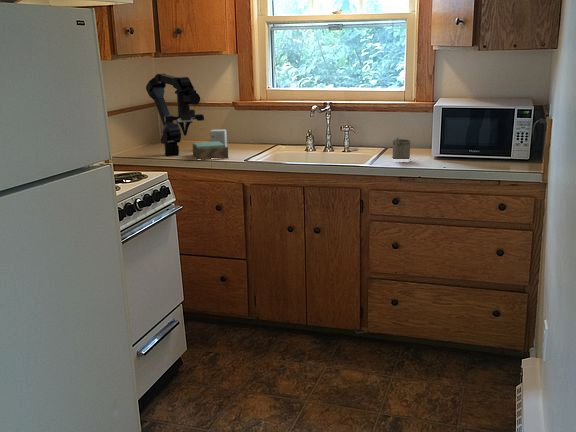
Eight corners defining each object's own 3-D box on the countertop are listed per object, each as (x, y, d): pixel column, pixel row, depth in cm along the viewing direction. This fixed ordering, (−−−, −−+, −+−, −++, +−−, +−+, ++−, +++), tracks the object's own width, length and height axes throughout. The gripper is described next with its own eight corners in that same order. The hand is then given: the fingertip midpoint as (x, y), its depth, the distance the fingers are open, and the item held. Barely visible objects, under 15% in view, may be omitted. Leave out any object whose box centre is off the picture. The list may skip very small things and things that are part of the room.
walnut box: (198, 160, 305) (197, 149, 304) (193, 155, 320) (192, 144, 318) (228, 158, 309) (227, 147, 308) (222, 153, 324) (221, 142, 323)
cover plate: (198, 149, 305) (197, 146, 305) (194, 145, 317) (193, 142, 317) (224, 148, 309) (224, 145, 309) (219, 144, 321) (219, 141, 321)
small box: (227, 148, 337) (226, 129, 334) (225, 150, 331) (224, 130, 328) (212, 148, 337) (211, 129, 335) (210, 150, 332) (209, 130, 329)
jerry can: (394, 158, 304) (395, 133, 301) (414, 160, 300) (415, 134, 296) (384, 163, 292) (385, 138, 288) (404, 165, 287) (405, 139, 284)
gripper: (165, 105, 294) (167, 139, 298) (205, 104, 299) (206, 136, 303) (163, 103, 304) (165, 135, 309) (201, 102, 309) (203, 133, 314)
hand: (185, 135), depth 308 cm, fingers closed
